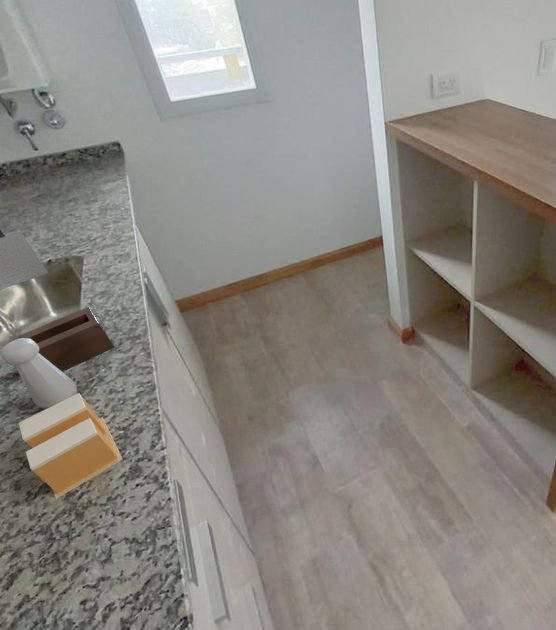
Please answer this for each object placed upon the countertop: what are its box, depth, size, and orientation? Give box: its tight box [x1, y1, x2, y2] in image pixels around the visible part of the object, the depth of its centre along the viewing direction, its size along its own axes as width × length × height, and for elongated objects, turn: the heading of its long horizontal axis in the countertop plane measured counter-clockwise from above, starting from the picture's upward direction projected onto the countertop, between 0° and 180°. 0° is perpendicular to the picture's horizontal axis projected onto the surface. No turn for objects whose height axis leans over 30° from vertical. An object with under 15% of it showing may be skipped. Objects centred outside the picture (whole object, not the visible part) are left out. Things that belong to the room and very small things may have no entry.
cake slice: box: [25, 418, 118, 493], centre depth 60 cm, size 8×4×6 cm, turn 134°
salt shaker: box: [0, 338, 78, 410], centre depth 69 cm, size 6×6×13 cm
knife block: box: [18, 306, 115, 373], centre depth 81 cm, size 11×7×6 cm, turn 134°
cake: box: [18, 392, 123, 500], centre depth 62 cm, size 8×11×7 cm
